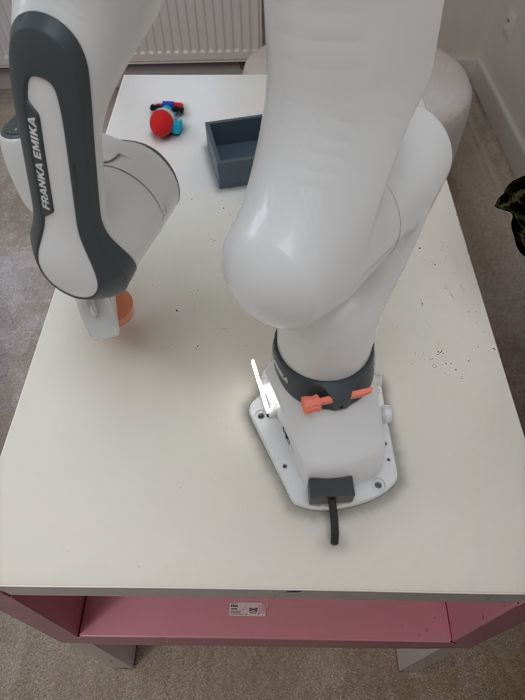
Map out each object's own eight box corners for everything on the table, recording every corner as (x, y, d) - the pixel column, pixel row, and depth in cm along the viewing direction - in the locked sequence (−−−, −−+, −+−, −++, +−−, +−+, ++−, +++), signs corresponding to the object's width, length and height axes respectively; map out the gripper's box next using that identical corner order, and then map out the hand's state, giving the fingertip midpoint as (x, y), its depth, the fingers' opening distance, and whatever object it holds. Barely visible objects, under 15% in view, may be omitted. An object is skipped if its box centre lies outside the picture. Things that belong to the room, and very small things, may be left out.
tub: (288, 178, 100) (289, 152, 96) (219, 189, 99) (217, 163, 94) (272, 137, 108) (272, 112, 103) (207, 147, 106) (204, 122, 102)
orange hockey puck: (139, 328, 76) (135, 317, 74) (92, 337, 75) (87, 327, 73) (134, 294, 80) (130, 283, 78) (89, 303, 79) (84, 292, 77)
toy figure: (153, 112, 116) (141, 141, 106) (151, 89, 113) (139, 116, 102) (187, 115, 117) (179, 144, 106) (186, 92, 113) (178, 119, 103)
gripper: (113, 291, 59) (140, 359, 70) (101, 183, 71) (125, 256, 82) (57, 302, 58) (93, 370, 70) (54, 191, 70) (85, 264, 81)
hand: (110, 307), depth 76 cm, fingers closed on orange hockey puck, 7 cm apart
